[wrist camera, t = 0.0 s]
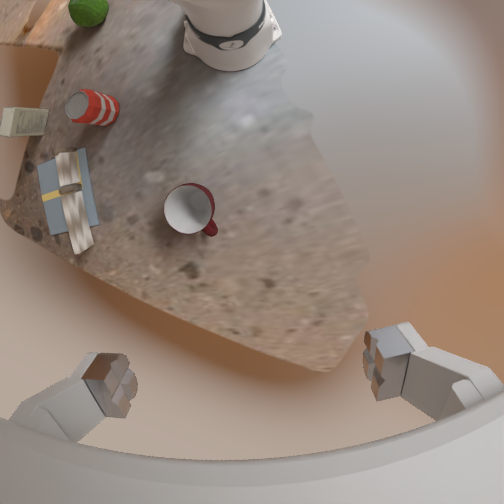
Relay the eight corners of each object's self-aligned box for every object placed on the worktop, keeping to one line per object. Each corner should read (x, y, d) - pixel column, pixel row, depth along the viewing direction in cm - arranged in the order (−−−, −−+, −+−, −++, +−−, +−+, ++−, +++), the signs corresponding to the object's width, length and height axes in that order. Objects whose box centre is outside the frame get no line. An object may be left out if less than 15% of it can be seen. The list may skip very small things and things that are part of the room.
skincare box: (38, 108, 48) (4, 105, 37) (50, 109, 49) (15, 106, 37) (32, 134, 50) (-3, 135, 39) (43, 136, 51) (8, 137, 39)
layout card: (37, 165, 53) (36, 165, 52) (85, 147, 52) (84, 147, 51) (51, 234, 58) (50, 235, 58) (99, 224, 57) (98, 224, 57)
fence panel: (77, 192, 54) (60, 196, 48) (82, 190, 54) (65, 195, 48) (89, 245, 58) (74, 254, 52) (94, 244, 58) (79, 253, 52)
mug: (237, 211, 56) (233, 223, 47) (207, 238, 58) (197, 255, 48) (200, 170, 54) (188, 173, 44) (170, 199, 55) (153, 208, 46)
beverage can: (106, 132, 51) (74, 129, 40) (90, 113, 50) (57, 107, 38) (126, 110, 50) (96, 102, 38) (109, 91, 48) (79, 80, 37)
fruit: (94, 3, 41) (69, -16, 29) (120, 3, 41) (97, -19, 30) (79, 32, 43) (51, 16, 32) (105, 32, 44) (78, 14, 32)
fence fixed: (71, 148, 52) (52, 149, 45) (75, 147, 51) (57, 147, 45) (77, 190, 54) (59, 195, 48) (82, 189, 54) (64, 194, 48)
